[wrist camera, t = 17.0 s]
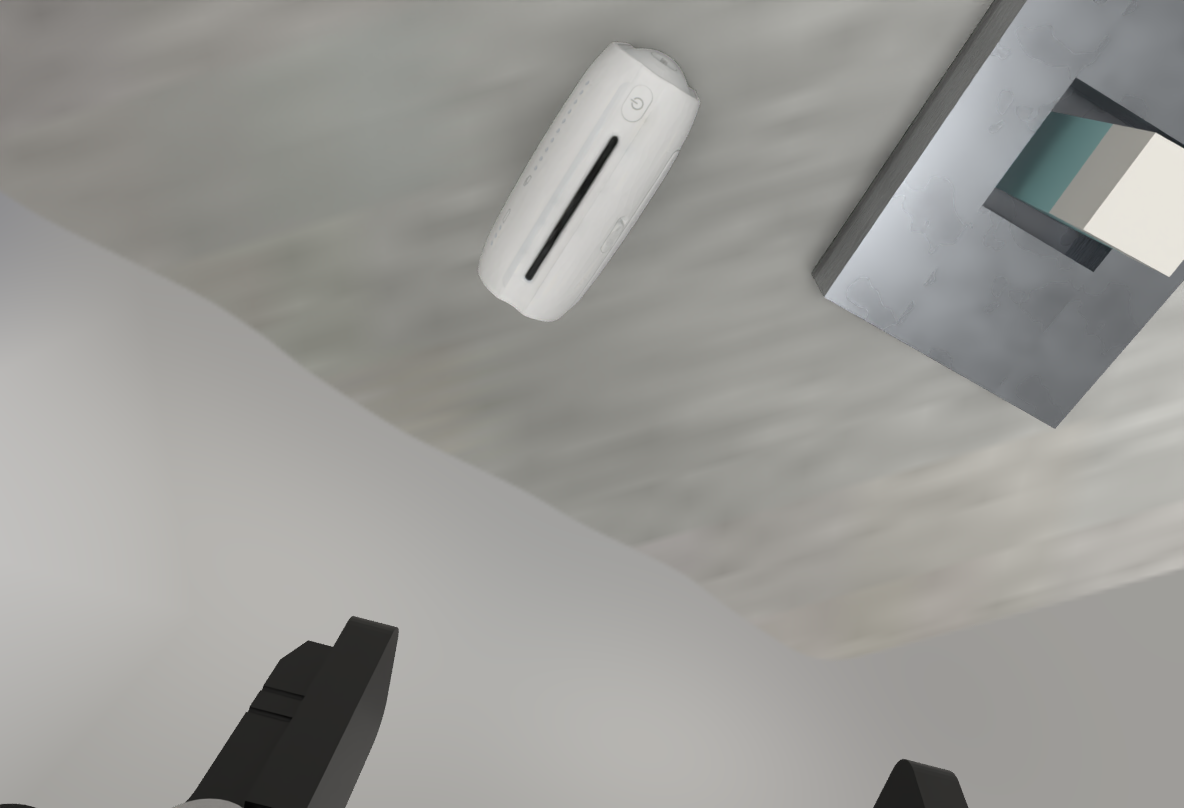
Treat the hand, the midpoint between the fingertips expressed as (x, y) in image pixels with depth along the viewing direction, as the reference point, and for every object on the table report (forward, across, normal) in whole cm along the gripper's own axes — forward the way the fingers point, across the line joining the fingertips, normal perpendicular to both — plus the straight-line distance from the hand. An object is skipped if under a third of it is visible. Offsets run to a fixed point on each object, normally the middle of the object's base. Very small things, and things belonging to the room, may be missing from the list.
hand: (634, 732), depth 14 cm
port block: (+30, -15, -8) cm, 35 cm away
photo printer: (+30, +4, -4) cm, 31 cm away
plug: (+29, -15, -8) cm, 34 cm away
